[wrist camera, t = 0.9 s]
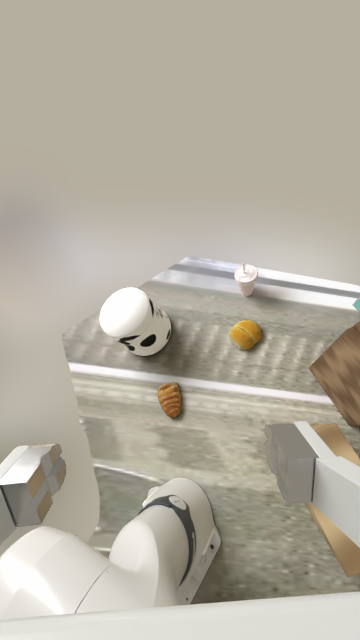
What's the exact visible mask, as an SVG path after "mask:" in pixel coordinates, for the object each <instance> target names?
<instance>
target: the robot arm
mask: <svg viewBox="0 0 360 640" xmlns="http://www.w3.org/2000/svg"><path fill="white" fill-rule="evenodd" d="M265 435H266V437H267V439H268V440H267V441H266V442H265V454H266V459H267V462H268V465H269V467H270V469H271V472H273V473H274V474H275V475H276V476H277V485H278V487H279V489H280V491H281V493H282V495H283V498H284V500H285V502H286V504H293V503H312V504H313V505H314V506H315V507H316V508H317V509H318V510H319V511H320V512H321V513H323V514H324V515H325V516H326V517H327V518H328V519H329V520H330V521H331V522H332V523H333V524H334V525H336V526H337V527H338V528H339V529H340V530H341V531H342V532H343V533H344V534H345V535H346V536H347V537H349V538H350V539H351V540H352V541H353V542H354V543H355V544H356V545H357V546H358V547H359V548H360V467H359V466H357V465H355V464H354V463H352V462H350V461H348V460H346V459H345V458H343V457H341V456H339V457H336V455H335V454H334V453H333V452H332V451H331V450H330V448H329V447H328V446H327V445H326V444H325V443H324V441H323V440H322V439H321V438H320V437H319V436H318V434H317V433H316V432H315V431H314V430H313V429H312V427H311V426H310V425H309V424H308V423H307V422H305V421H300V422H292V423H282V424H272V425H266V426H265ZM61 453H62V450H61V447H60V445H59V444H43V445H31V446H19V447H17V448H15V449H14V450H13V451H12V452H11V453H10V455H9V456H8V457H7V458H6V459H5V460H4V461H3V462H2V463H1V464H0V544H1V543H2V542H3V541H4V540H5V539H6V538H7V537H8V536H9V535H10V534H11V533H12V532H13V531H14V530H15V529H16V527H21V526H30V525H39V524H41V523H42V522H43V519H44V518H45V516H46V514H47V512H48V511H49V509H50V507H51V505H52V503H53V502H52V496H53V495H54V494H55V493H56V492H58V491H59V490H60V488H61V486H62V484H63V482H64V479H65V475H66V464H65V461H64V460H63V459H62V458H61V457H60V454H61ZM211 544H212V545H213V546H214V548H212V547H211ZM220 545H221V538H220V535H219V532H218V530H217V528H216V526H215V524H214V520H213V515H212V509H211V506H210V503H209V500H208V498H207V496H206V495H205V493H204V491H203V490H202V489H201V488H200V487H199V486H198V485H197V484H196V483H195V482H193V481H191V480H189V479H186V478H175V479H172V480H170V481H168V482H167V483H165V484H164V485H162V486H156V487H153V488H151V489H150V490H149V492H148V496H147V499H146V500H145V501H144V503H143V508H142V510H141V511H140V512H139V514H138V515H137V516H136V517H135V518H134V519H133V520H131V521H130V522H129V523H128V524H126V525H125V526H124V527H123V528H122V530H121V531H120V532H119V534H118V536H117V537H116V539H115V541H114V544H113V546H112V549H111V552H110V556H109V559H107V558H106V557H105V556H103V555H102V554H101V553H99V552H98V551H97V550H95V549H94V548H93V547H91V546H90V545H89V544H87V543H86V542H85V541H83V540H82V539H81V538H79V537H77V536H76V535H74V534H71V533H68V532H65V531H62V530H59V529H55V528H51V527H48V526H42V527H39V528H36V529H34V530H32V531H30V532H29V533H27V534H25V535H24V536H23V537H22V538H20V539H19V540H17V541H16V542H15V543H14V544H12V545H11V546H10V547H9V548H8V549H7V550H6V551H5V552H4V553H3V554H2V556H1V557H0V640H360V591H359V592H346V593H333V594H320V595H307V596H294V597H282V598H269V599H256V600H243V601H230V602H217V603H204V604H191V605H190V603H191V602H192V600H193V598H194V596H195V594H196V592H197V590H198V588H199V586H200V584H201V582H202V580H203V578H204V576H205V574H206V572H207V570H208V568H209V566H210V565H211V563H212V561H213V559H214V557H215V555H216V553H217V551H218V549H219V547H220Z"/></svg>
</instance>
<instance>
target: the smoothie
mask: <svg viewBox="0 0 360 640" xmlns="http://www.w3.org/2000/svg"><path fill="white" fill-rule="evenodd" d="M257 277H258V271H257V269H256V268H255V267H254V266H252V265H245V263H244V262H243V263H242V266H240V267H239V268H238V269H237V270H236V271H235V279H236V281H237V282H238V284H239V287H240V290H241V293H242V294H243V295H244V296H250V295H251V294H252V293H253V290H254V285H255V281H256V279H257Z"/></svg>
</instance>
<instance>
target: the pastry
mask: <svg viewBox="0 0 360 640" xmlns="http://www.w3.org/2000/svg"><path fill="white" fill-rule="evenodd" d="M158 399H159V402H160V404H161V407H162V408H163V410H164V411H165V413H166V415H168V416H169V417H171V418H174V417H176V416H178V414H179V413H180V411H181V394H180V392H179V387H178V383H177V382H171V383H166V384H163V385H162V386H160V387H159V388H158Z"/></svg>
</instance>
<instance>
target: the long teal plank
mask: <svg viewBox="0 0 360 640" xmlns="http://www.w3.org/2000/svg"><path fill="white" fill-rule="evenodd" d="M353 306H354V307H355V308H356V309H357V310H358V311H359V312H360V297H359V298H358V299H357V300H356V301H355V303H354V304H353Z"/></svg>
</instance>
